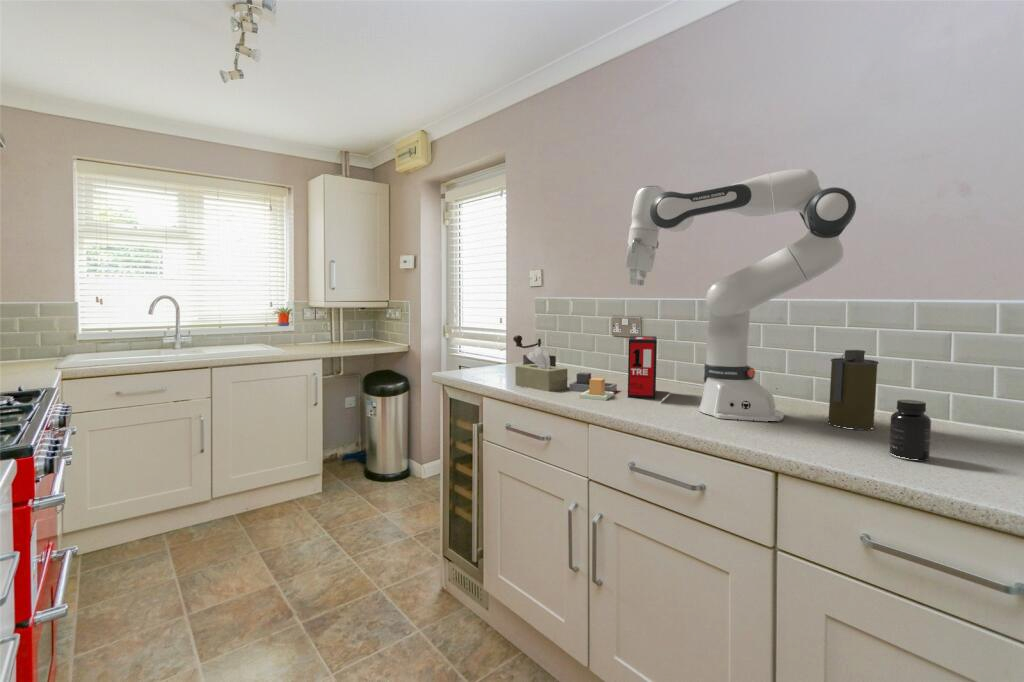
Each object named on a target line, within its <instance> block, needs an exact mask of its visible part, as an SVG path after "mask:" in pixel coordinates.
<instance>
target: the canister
mask: <svg viewBox="0 0 1024 682" xmlns="http://www.w3.org/2000/svg"><path fill="white" fill-rule="evenodd" d="M865 353H866V350H861V349H845V350H844V353H843V354H842V356H841V357H837V358H835V357H834V358H831V359H830V361H831V368H830V369H831V370H830V385H829V388H830V389H829V401H828V402H829V403H828V404H829V406H828V420H827V424H828V423H830V424H832V425H836V426H840V427H846V428H853V429H871V428H874V427H875V413H876V412H875V409H876V393H877V392H876V391H877V377H878V365H879V363H880V362H879V361H877V360H874V359H865ZM830 424H829V425H830ZM832 425H831V426H832ZM875 428H876V427H875ZM875 428H874V429H875Z"/></svg>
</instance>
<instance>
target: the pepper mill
mask: <svg viewBox="0 0 1024 682" xmlns="http://www.w3.org/2000/svg"><path fill="white" fill-rule="evenodd" d="M522 340H523V337H522V335H519V334H518V335H514V337H513V338H512V341H513V342H514V343H515V347H519V348H522V349H529V348H533V347H536V346H537V347H541V344H542V338H538V339H537V341H538V342H537V343H534V344H529V345H523V344H522ZM526 355H527V354H523V356H522V361H523V362H522V365H527V364H535V363H534V362H532V361H531V360H529V359H528V358H527V356H526ZM549 358H550V366H553V367H557V366H556V363H557V360H556V359H557V358H556V356H555V355H552V354H549Z"/></svg>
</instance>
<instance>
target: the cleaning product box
mask: <svg viewBox="0 0 1024 682" xmlns="http://www.w3.org/2000/svg"><path fill="white" fill-rule="evenodd" d="M657 347H658V340H657V336H656V335H655V336H653V335H652V336H651V335H646V336H645V335H630V337H629V338H628V357H627V358H628V359H627V360H628V362H627V363H628V364H627V365H628V367H627V374H628V375H627V398H628V399H629V398H630V399H648V400H650V399H651V400H656V391H657V385H656V384H657V353H658V352H657V351H658V349H657Z"/></svg>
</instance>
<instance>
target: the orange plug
mask: <svg viewBox="0 0 1024 682" xmlns="http://www.w3.org/2000/svg"><path fill="white" fill-rule="evenodd" d="M605 383H606V379H605V378H603V377H602V378H601V377H591V379H590V381H589V395H600V396H605Z"/></svg>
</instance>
